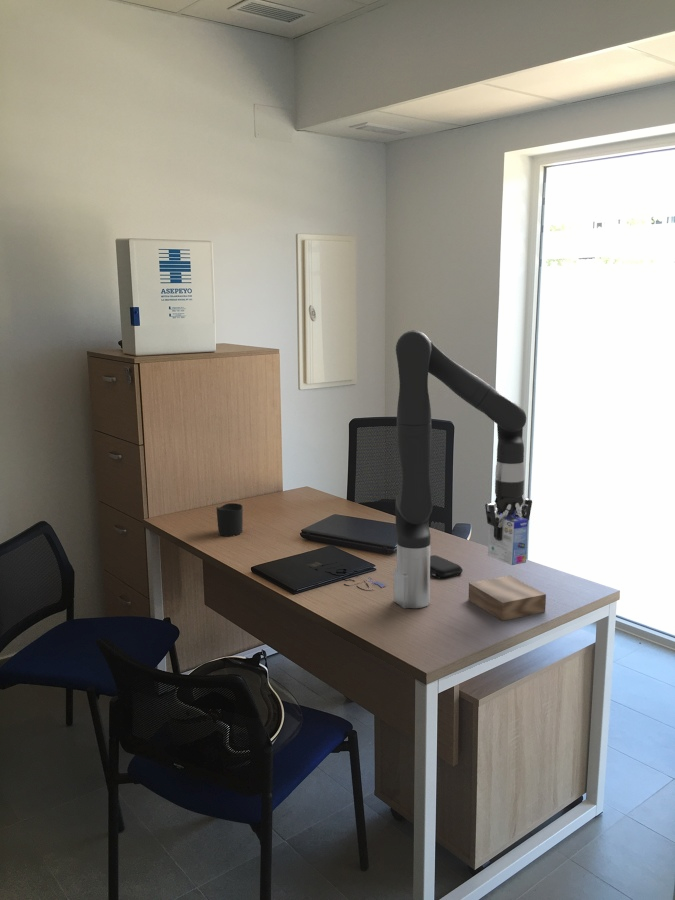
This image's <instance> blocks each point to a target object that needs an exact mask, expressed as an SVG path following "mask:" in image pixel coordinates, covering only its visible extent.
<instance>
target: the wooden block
mask: <svg viewBox="0 0 675 900" xmlns="http://www.w3.org/2000/svg"><path fill="white" fill-rule="evenodd" d="M546 600H547V594H546V593H545V592H542V591H540V590H539V589H538V588H535V587H534V586H531V585H529V584H527V583H525V582H524V581H521V580H519V578H517V577H514V576H512V575H505V576H499V577H495V578H494V577H493V578H489V579H488V578H487V579H483V580H478V581H472V582H468V601H470V602H471V603H473V604H475V605H476V606H478V607H479V608H481V609H483V610H484V611H486V612H488V613H489V614H491V615H493V616H494V617H496V618H498V619H499V620H501V621H508V620H512V619H517V618H521V617H523V618H524V617H526V616H532V615H536V614H541V613H545V612H546V604H547V601H546Z"/></svg>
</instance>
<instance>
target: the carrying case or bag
mask: <svg viewBox="0 0 675 900" xmlns="http://www.w3.org/2000/svg"><path fill="white" fill-rule="evenodd" d="M462 572H463V568H462V567H461V565H460V564H458V563H456V562H453V561H451V560H448V559H445V558H443V557H441V556H439V555H436V554H435V555H434V554H433V555H432V554H431V555H430V576H434V577H436V578H438V579H448V578H452V577H455V576H459V575H461V573H462Z"/></svg>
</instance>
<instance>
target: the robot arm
mask: <svg viewBox="0 0 675 900" xmlns="http://www.w3.org/2000/svg"><path fill="white" fill-rule="evenodd" d="M395 355H396V359H397V360H396V361H397V362H396V363H397V369H398V381H399V383H398V384H399V389H398V398H397V409H396V410H397V411H396V441H397V449H398V454H399V455H398V456H399V462H400V465H401V475H402V476H401V478H402V479H401V489H400V490H399V491H398V492H397V495H396V497H395V532H396V533H395V534H396V568H394V569H393V602H394V603H396V605H397V604H398V605H399V606H400V607H401V608H403V609H419V608H420V609H421V608H425V607H427V606H429V605H430V604H431V603H430V602H431V600H430V599H431V594H430V593H431V585H430V584H431V575H430V556H431V531H430V523H429V521H430V520H429V519H430V516H431V514H432V512H433V506H434V505H433V503H434V502H433V497H432V487H431V479H430V478H431V475H430V472H431V471H430V470H431V469H430V468H431V467H430V466H431V454H432V433H433V431H432V430H433V429H432V410H431V409H432V408H431V402H430V401H431V400H430V395H429V387H428V383H429V381H428V379H429V374H430V375H432V376H433V377H435V378H436V379H437V380H439V381H440V382H441V383H443V384H444V385H445V386H446V387H448V388H449V390H451V391H452V392H453V393H454V394H455V395H457V396H459V398H461V399H462V400H463V401H464V402H466V403H467V404H469V405H471V406H472V407H473V408H475V409H477V410H478V411H480V412H481V413H483V414H484V415H485V416H487V417H488V418H489V419H490V420H491V421H492V422H494V423H495V424H496V426H497V428H496V429H497V430H496V431H497V447H496V464H495V474H494V476H495V478H494V479H495V480H494V494H495V500H494V502H491V503H488V502H487V503H485V505H484V506H485V507H484V508H485V515H486V522H487V525H489V524H490V525H492V526H494V538H495V539H496V540H498V541H501V540H502V524H503V521H504V520H505V519H506V517H507V516H509V515H513V513H514V511H515V510H516V514H515V516H517V517H522V518H525V519H528V522H529V520H530V517H531V510H532V505H533V500H532V499H529V498H527V497H524V498H523V496H524V495H525V494H524V490H525V465H524V464H525V462H524V461H525V460H524V459H525V458H524V457H525V446H524V441H523V430H524V427H525V425H526V423H527V415H526V412H525V410H524V409H523V408H522V406H521V405H520V404H518V403H516V402H512V401H511V400H510V399H508V398H506V397H505V396H503V395H502V394H500V393H499V392H498V391H497V389H495V387H493V386H491V384H489V383H488V382H486V381H484V380H483V379H482V378H480V377H479V376H477V375H475V374H474V373H472V371H470V370H468V369H466V368H465V367H464V366H462V365H460V364H459V363H457V362H455V361H454V360H453V359H451V358H450V357H449V356H447V354H445V353H444V352H443V351H442V350H440V348H438V347H437V345H435V343H434V342H432V341H431V340H430V338H429V337H428V336H427V335H426V333H424V332H423V331H420V330H417V329H416V330H415V329H414V330H408V331H406V332H404V333H403V334H402V335H401V336H399V338H398V340H397V342H396V344H395ZM500 513H501V514H502V516H501V515H500Z"/></svg>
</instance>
